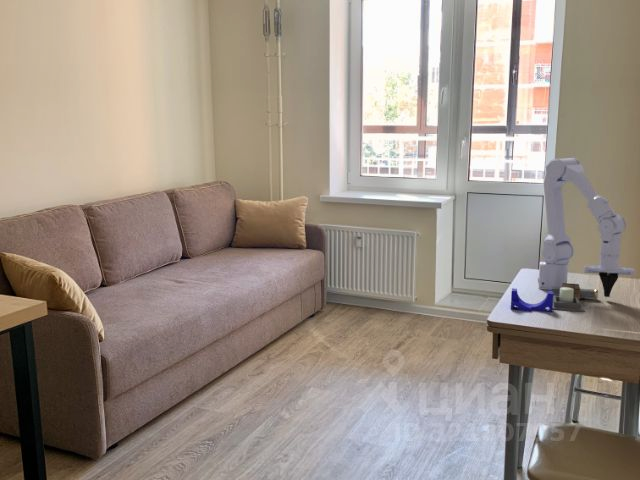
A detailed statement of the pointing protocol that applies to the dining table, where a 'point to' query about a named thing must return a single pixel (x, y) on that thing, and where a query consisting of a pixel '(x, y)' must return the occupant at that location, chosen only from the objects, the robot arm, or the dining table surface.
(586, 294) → the shaft
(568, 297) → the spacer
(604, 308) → the dining table surface
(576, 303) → the cradle
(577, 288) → the brown wooden block
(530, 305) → the blue semicircular bracket
